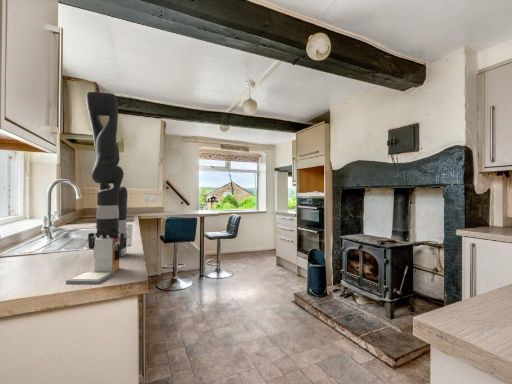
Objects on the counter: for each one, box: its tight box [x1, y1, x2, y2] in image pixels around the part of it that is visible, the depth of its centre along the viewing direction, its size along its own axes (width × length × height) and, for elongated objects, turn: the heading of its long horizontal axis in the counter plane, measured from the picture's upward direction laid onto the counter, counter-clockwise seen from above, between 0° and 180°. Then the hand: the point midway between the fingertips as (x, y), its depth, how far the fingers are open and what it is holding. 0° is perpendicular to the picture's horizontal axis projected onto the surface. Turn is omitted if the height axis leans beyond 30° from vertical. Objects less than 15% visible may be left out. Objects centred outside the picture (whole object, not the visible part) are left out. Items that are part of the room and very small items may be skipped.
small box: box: [93, 236, 120, 273], centre depth 99 cm, size 8×6×13 cm
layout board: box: [65, 271, 115, 285], centre depth 90 cm, size 9×11×1 cm
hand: (107, 259), depth 99 cm, fingers closed on small box, 7 cm apart
